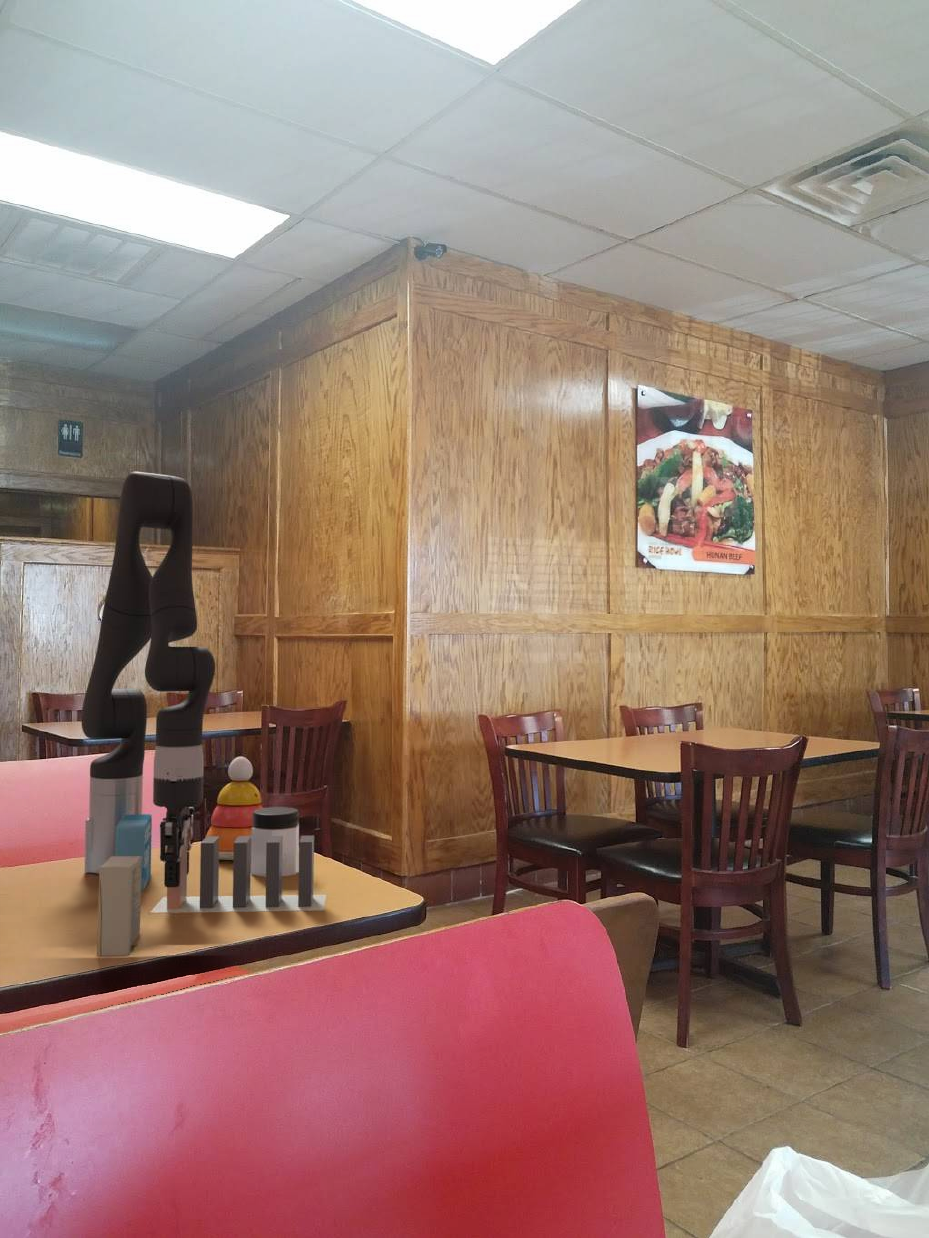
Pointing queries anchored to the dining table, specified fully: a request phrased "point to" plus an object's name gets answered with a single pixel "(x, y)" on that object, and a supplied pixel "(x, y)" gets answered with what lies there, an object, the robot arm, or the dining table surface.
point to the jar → (275, 824)
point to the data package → (136, 841)
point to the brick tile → (179, 894)
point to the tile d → (274, 871)
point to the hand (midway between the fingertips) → (176, 880)
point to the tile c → (241, 871)
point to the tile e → (306, 871)
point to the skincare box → (119, 905)
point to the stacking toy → (235, 808)
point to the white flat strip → (253, 905)
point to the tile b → (209, 872)
